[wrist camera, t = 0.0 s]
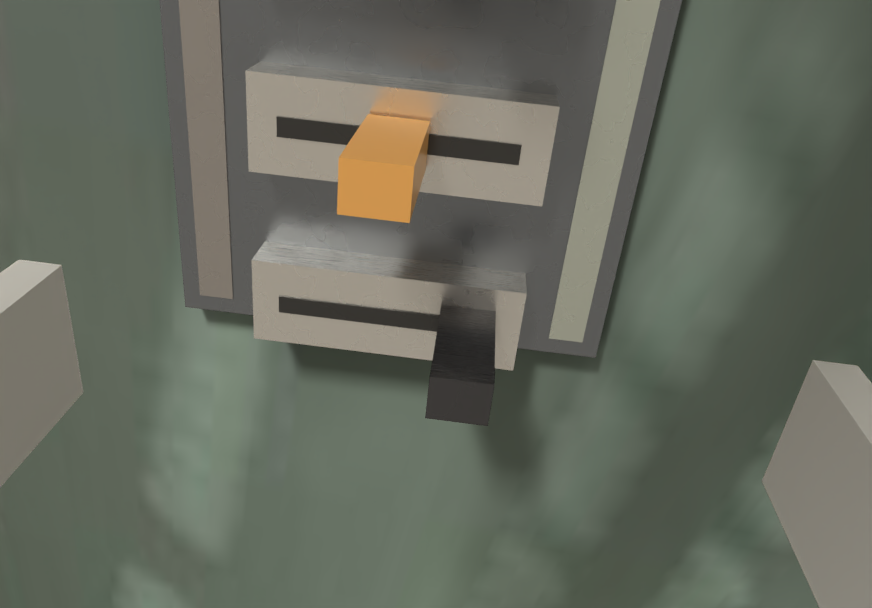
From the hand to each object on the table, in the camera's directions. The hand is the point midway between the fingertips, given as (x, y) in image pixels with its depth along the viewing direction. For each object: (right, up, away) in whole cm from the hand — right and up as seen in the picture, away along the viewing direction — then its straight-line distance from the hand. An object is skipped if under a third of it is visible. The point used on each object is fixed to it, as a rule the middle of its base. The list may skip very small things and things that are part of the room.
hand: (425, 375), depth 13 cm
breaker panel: (-1, +11, +26) cm, 28 cm away
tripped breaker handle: (-2, +9, +22) cm, 24 cm away
